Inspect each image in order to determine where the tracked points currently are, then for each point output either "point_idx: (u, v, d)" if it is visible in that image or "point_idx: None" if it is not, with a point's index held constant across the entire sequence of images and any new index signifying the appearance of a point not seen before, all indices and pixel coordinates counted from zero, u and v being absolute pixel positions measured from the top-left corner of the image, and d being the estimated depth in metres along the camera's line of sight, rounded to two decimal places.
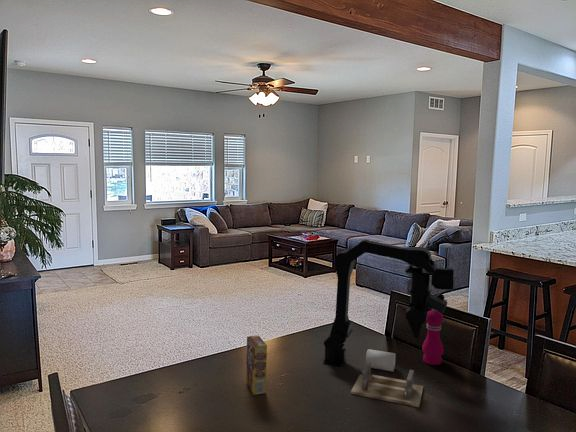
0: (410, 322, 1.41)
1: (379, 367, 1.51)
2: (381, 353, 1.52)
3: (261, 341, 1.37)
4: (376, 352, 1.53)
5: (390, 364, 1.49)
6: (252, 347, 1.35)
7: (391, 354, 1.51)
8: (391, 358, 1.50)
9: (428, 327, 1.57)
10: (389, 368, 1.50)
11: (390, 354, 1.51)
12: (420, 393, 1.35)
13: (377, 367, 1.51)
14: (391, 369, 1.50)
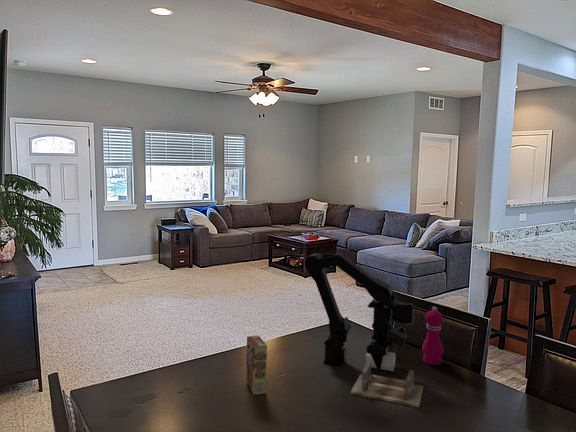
0: (372, 353, 1.49)
1: None
2: None
3: (261, 341, 1.37)
4: None
5: (390, 364, 1.49)
6: (252, 347, 1.35)
7: (391, 354, 1.51)
8: (391, 358, 1.50)
9: (428, 327, 1.57)
10: (389, 368, 1.50)
11: (390, 354, 1.51)
12: (420, 393, 1.35)
13: None
14: (391, 369, 1.50)
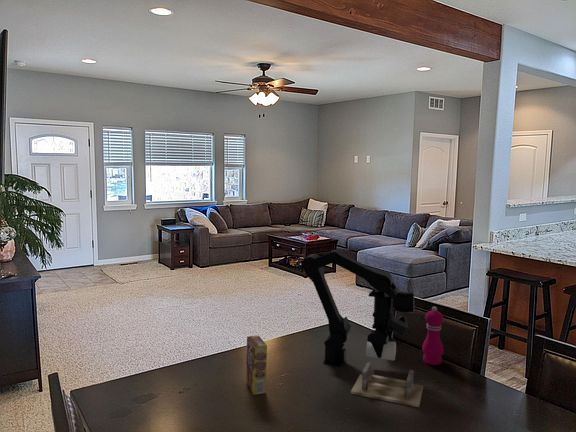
0: (373, 342, 1.49)
1: None
2: None
3: (261, 341, 1.37)
4: None
5: (391, 353, 1.49)
6: (252, 347, 1.35)
7: (392, 343, 1.51)
8: (392, 347, 1.49)
9: (428, 327, 1.57)
10: (390, 357, 1.49)
11: (391, 343, 1.50)
12: (420, 393, 1.35)
13: None
14: (392, 358, 1.49)
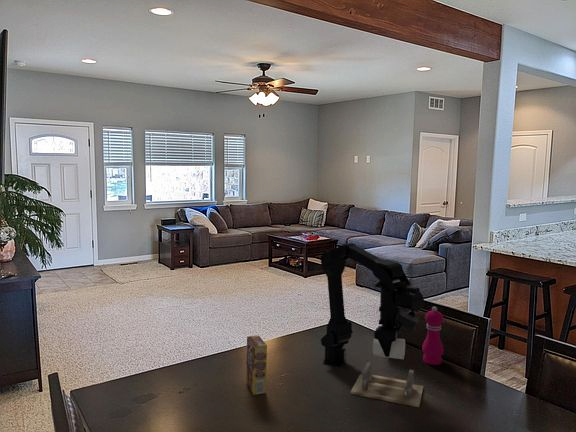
0: (380, 340, 1.34)
1: None
2: None
3: (261, 341, 1.37)
4: None
5: (400, 351, 1.35)
6: (252, 347, 1.35)
7: (401, 340, 1.37)
8: (401, 344, 1.35)
9: (428, 327, 1.57)
10: (399, 355, 1.35)
11: (399, 340, 1.36)
12: (420, 393, 1.35)
13: None
14: (401, 356, 1.35)
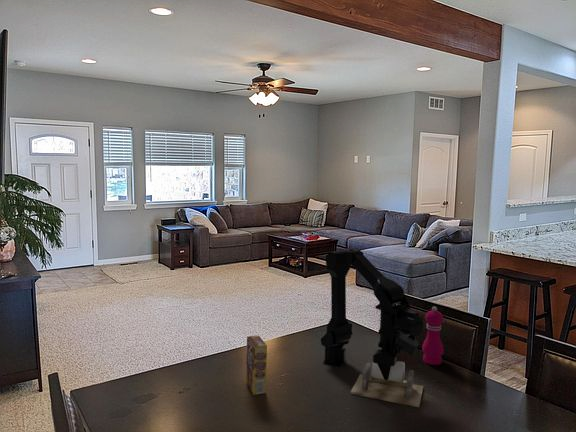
0: (379, 363, 1.33)
1: None
2: None
3: (261, 341, 1.37)
4: None
5: (399, 375, 1.33)
6: (252, 347, 1.35)
7: (400, 363, 1.35)
8: (400, 368, 1.34)
9: (428, 327, 1.57)
10: (398, 379, 1.34)
11: (399, 364, 1.35)
12: (420, 393, 1.35)
13: None
14: (400, 380, 1.33)
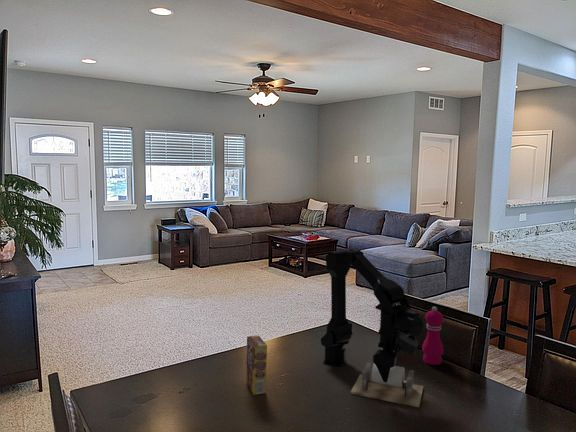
0: (378, 365, 1.32)
1: (387, 383, 1.35)
2: None
3: (261, 341, 1.37)
4: None
5: (399, 380, 1.33)
6: (252, 347, 1.35)
7: (400, 368, 1.35)
8: (400, 373, 1.34)
9: (428, 327, 1.57)
10: (398, 384, 1.34)
11: (399, 369, 1.35)
12: (420, 393, 1.35)
13: (384, 383, 1.36)
14: (400, 385, 1.34)
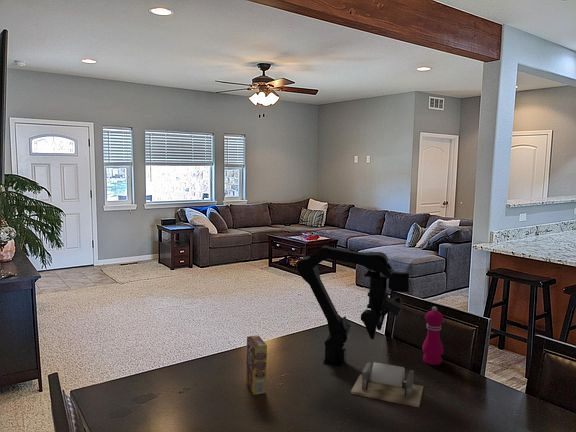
0: (366, 323, 1.48)
1: (387, 383, 1.35)
2: (389, 367, 1.36)
3: (261, 341, 1.37)
4: (383, 366, 1.37)
5: (399, 380, 1.33)
6: (252, 347, 1.35)
7: (400, 368, 1.35)
8: (400, 373, 1.34)
9: (428, 327, 1.57)
10: (398, 384, 1.34)
11: (399, 369, 1.35)
12: (420, 393, 1.35)
13: (384, 383, 1.36)
14: (400, 385, 1.34)
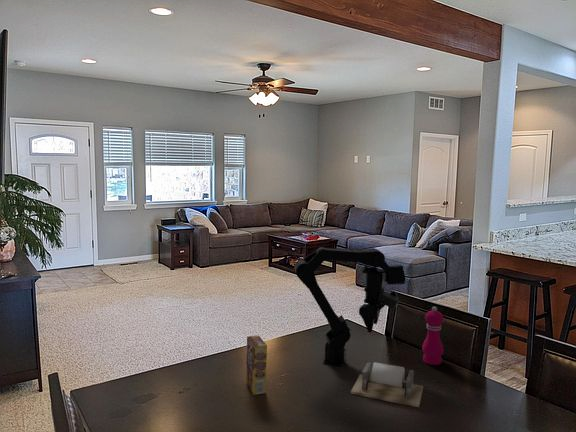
0: (364, 317, 1.53)
1: (387, 383, 1.35)
2: (389, 367, 1.36)
3: (261, 341, 1.37)
4: (383, 366, 1.37)
5: (399, 380, 1.33)
6: (252, 347, 1.35)
7: (400, 368, 1.35)
8: (400, 373, 1.34)
9: (428, 327, 1.57)
10: (398, 384, 1.34)
11: (399, 369, 1.35)
12: (420, 393, 1.35)
13: (384, 383, 1.36)
14: (400, 385, 1.34)
